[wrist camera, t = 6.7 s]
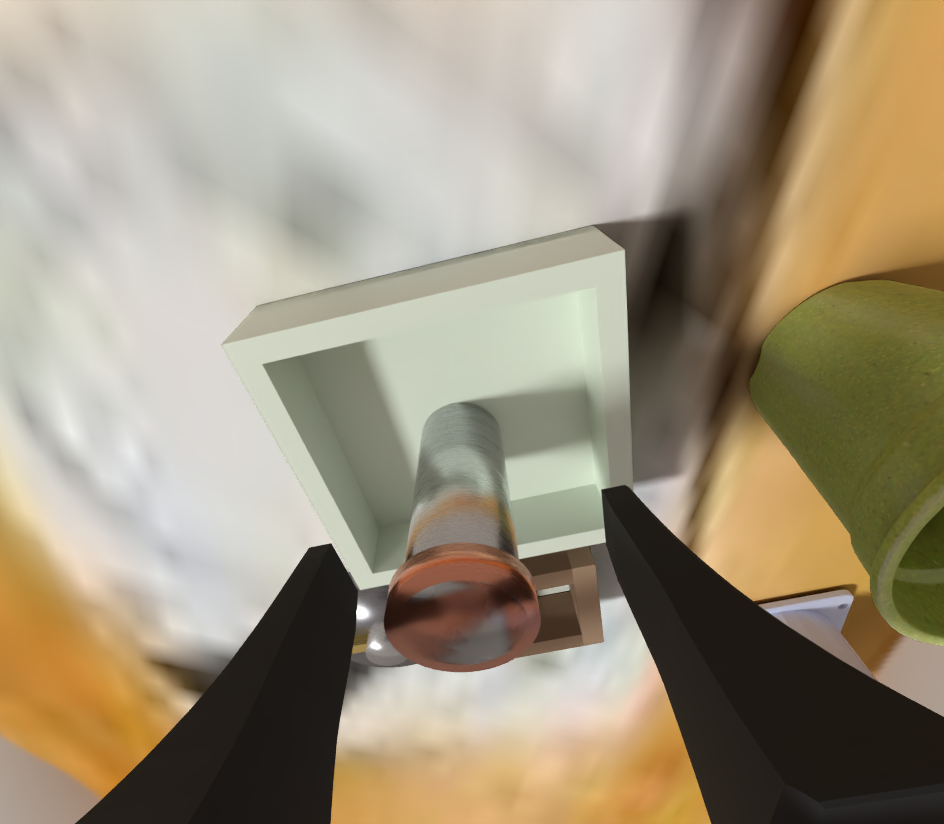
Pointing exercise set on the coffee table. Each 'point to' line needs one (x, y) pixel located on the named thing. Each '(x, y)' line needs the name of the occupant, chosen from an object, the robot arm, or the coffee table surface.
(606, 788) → the coffee table surface
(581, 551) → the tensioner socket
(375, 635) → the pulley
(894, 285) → the plant pot
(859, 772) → the robot arm
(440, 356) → the tray
